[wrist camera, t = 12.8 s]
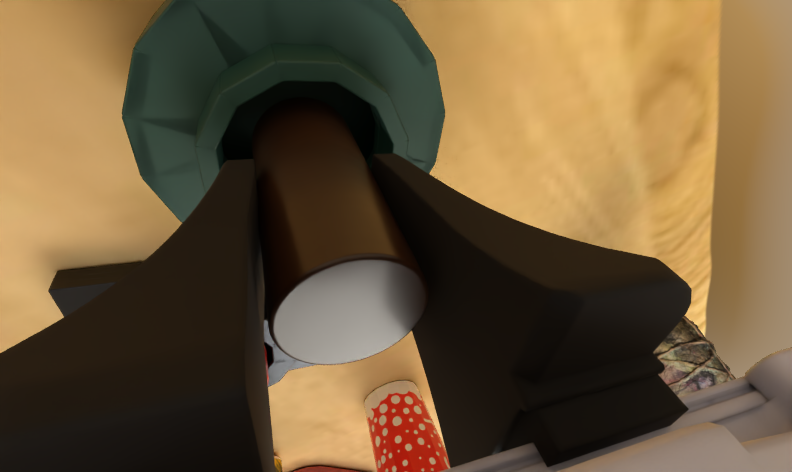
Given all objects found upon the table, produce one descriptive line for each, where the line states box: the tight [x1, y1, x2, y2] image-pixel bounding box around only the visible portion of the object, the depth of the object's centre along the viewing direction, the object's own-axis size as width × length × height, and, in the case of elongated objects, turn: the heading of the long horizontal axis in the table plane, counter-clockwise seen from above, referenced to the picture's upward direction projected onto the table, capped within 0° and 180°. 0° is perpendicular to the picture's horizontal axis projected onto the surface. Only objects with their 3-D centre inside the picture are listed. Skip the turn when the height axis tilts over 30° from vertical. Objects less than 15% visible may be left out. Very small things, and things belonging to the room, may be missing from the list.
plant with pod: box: [653, 316, 736, 397], centre depth 24 cm, size 8×11×20 cm
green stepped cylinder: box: [122, 0, 445, 223], centre depth 13 cm, size 9×9×6 cm
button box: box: [49, 262, 317, 387], centre depth 20 cm, size 12×9×3 cm
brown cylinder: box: [252, 97, 428, 365], centre depth 10 cm, size 3×3×7 cm
